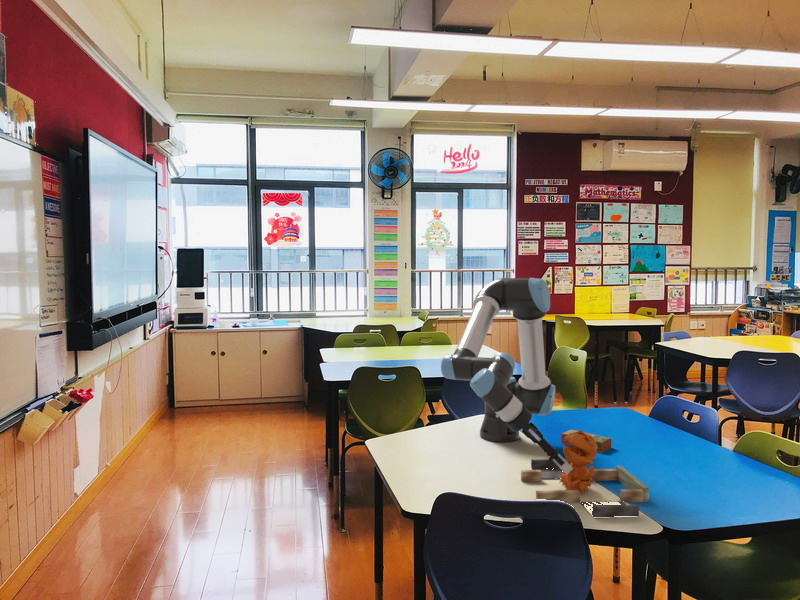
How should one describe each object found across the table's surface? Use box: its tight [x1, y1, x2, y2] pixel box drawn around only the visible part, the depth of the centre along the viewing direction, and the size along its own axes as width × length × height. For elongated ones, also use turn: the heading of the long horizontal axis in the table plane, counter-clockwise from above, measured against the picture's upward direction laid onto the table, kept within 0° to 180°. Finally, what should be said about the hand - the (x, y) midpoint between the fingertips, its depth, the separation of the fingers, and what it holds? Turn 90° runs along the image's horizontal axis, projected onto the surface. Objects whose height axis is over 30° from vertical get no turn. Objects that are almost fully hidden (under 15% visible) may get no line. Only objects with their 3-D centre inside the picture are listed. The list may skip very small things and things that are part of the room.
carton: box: [560, 429, 613, 454], centre depth 209 cm, size 8×16×4 cm, turn 46°
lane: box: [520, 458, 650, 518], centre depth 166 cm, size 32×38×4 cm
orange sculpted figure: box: [558, 428, 598, 494], centre depth 165 cm, size 11×11×18 cm
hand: (569, 470), depth 164 cm, fingers closed
